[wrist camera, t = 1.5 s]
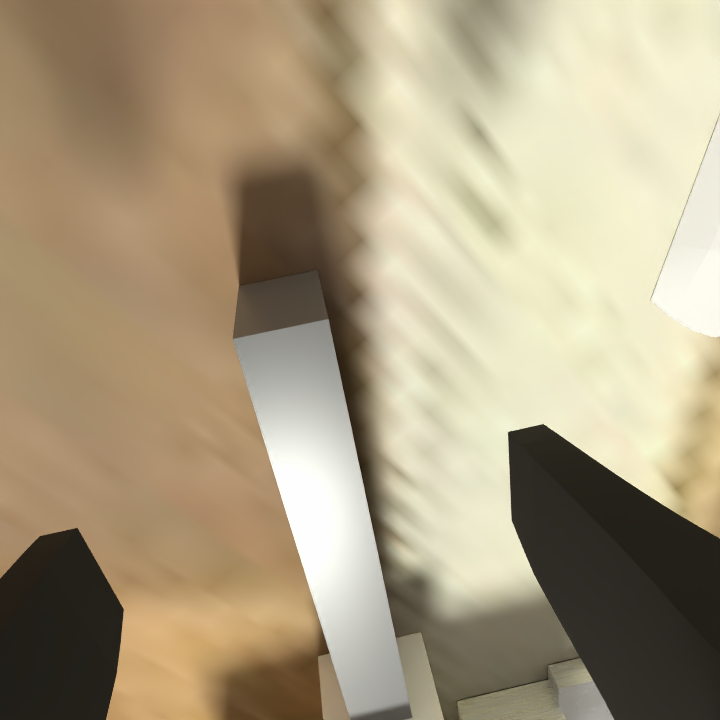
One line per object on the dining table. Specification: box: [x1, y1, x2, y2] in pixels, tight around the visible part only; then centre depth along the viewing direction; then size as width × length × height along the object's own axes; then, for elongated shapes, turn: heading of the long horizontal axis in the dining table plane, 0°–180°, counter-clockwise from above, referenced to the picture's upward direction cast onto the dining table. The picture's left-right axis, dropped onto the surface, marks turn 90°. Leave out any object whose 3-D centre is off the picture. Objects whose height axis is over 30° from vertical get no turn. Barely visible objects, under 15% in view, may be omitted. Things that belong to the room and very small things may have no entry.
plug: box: [233, 270, 444, 720], centre depth 18 cm, size 4×20×4 cm, turn 9°
